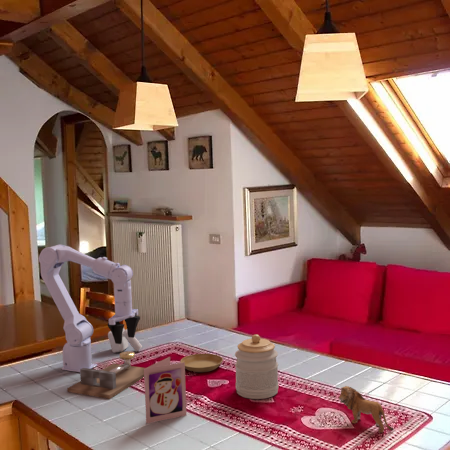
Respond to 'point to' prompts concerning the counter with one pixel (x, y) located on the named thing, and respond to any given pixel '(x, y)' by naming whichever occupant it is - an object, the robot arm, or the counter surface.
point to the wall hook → (123, 342)
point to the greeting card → (165, 391)
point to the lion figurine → (362, 406)
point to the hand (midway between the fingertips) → (125, 340)
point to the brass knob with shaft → (126, 357)
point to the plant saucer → (202, 362)
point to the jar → (256, 368)
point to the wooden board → (106, 381)
